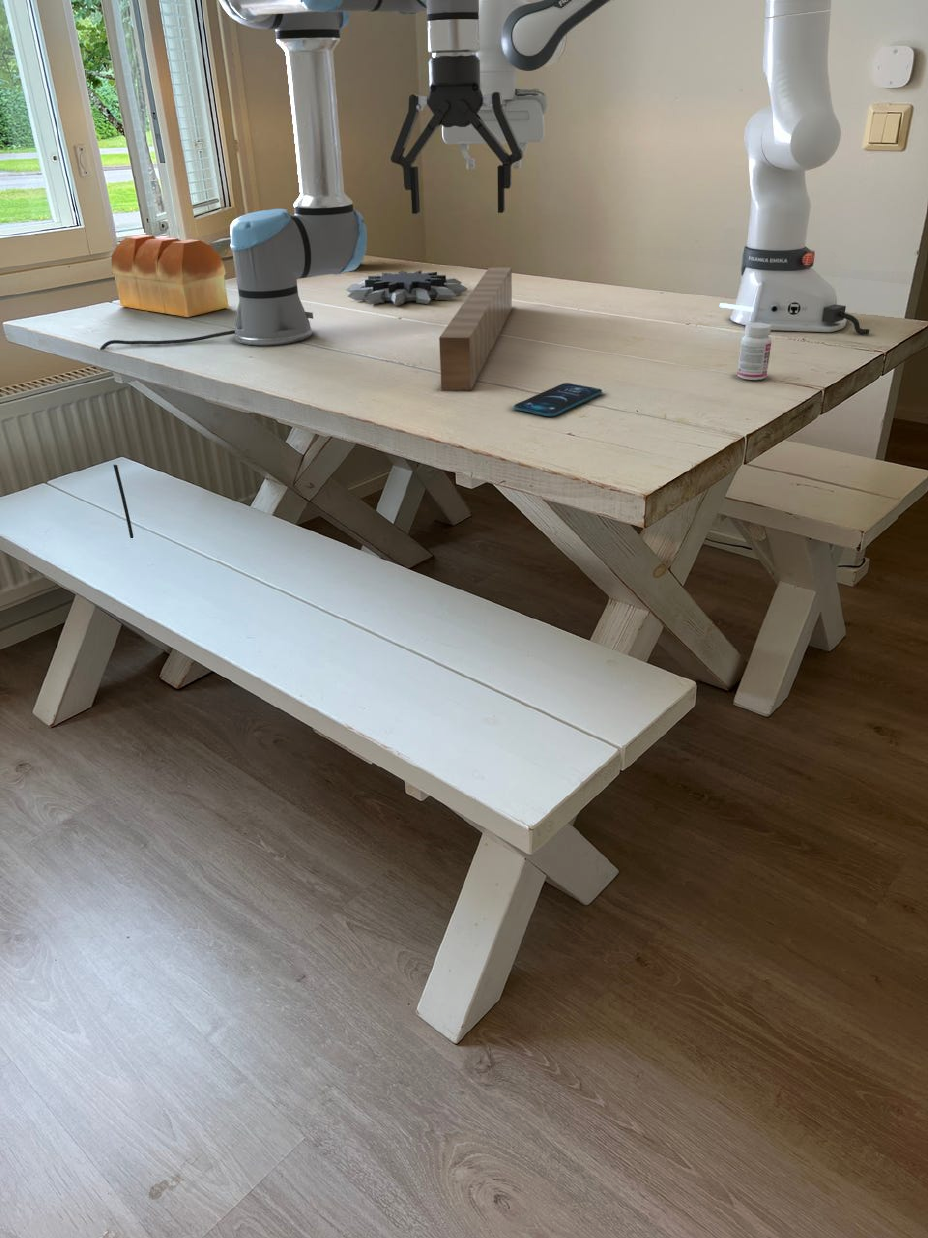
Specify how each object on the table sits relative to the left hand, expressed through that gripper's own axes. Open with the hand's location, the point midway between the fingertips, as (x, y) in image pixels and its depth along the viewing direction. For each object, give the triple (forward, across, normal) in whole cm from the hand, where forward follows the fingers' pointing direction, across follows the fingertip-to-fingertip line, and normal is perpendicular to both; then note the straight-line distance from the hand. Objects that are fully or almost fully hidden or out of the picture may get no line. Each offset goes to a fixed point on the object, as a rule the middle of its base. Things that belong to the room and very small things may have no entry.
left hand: (458, 212), depth 149 cm
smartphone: (+26, -17, +13) cm, 34 cm away
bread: (+26, +76, -55) cm, 98 cm away
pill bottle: (+26, -48, -3) cm, 55 cm away
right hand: (-2, 0, -48) cm, 49 cm away
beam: (+26, 0, -24) cm, 36 cm away
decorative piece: (+26, +24, -70) cm, 78 cm away
